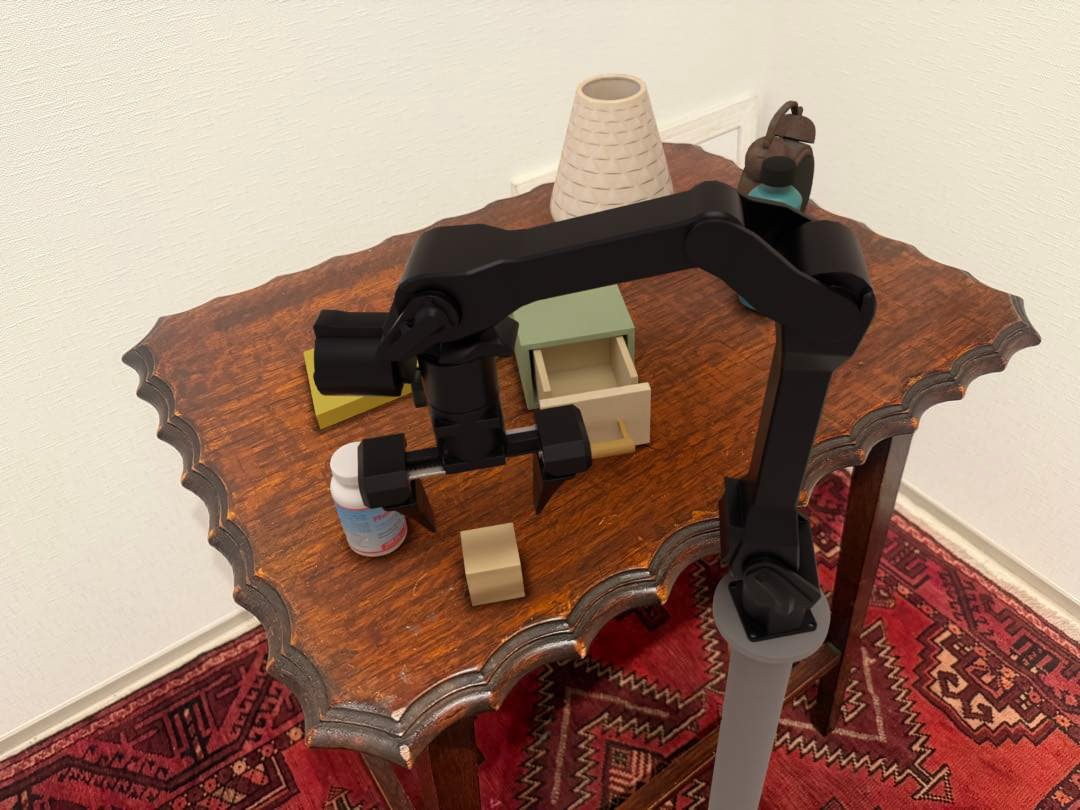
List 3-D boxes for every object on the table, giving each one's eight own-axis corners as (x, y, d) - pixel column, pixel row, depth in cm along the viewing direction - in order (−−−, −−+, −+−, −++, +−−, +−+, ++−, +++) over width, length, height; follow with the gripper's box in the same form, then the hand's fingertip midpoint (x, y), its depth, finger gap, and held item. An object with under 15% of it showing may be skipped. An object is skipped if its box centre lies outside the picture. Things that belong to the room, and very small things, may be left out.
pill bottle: (398, 562, 85) (375, 486, 78) (339, 556, 86) (311, 480, 79) (415, 515, 90) (395, 438, 82) (359, 509, 91) (334, 433, 83)
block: (525, 596, 81) (520, 564, 78) (472, 606, 81) (465, 574, 78) (517, 554, 85) (512, 522, 82) (466, 563, 85) (460, 531, 81)
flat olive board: (462, 306, 116) (289, 372, 108) (460, 293, 114) (284, 359, 107) (504, 354, 108) (320, 429, 100) (502, 341, 106) (315, 415, 99)
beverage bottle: (729, 316, 110) (744, 172, 97) (741, 287, 115) (756, 145, 101) (782, 325, 108) (804, 179, 95) (791, 295, 113) (813, 151, 99)
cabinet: (634, 392, 101) (634, 327, 94) (528, 410, 100) (520, 345, 94) (607, 318, 112) (605, 255, 105) (510, 334, 111) (502, 271, 104)
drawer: (660, 471, 90) (662, 417, 85) (553, 490, 90) (548, 436, 84) (620, 364, 103) (620, 311, 98) (526, 379, 103) (521, 327, 97)
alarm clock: (774, 278, 115) (793, 137, 102) (723, 264, 119) (736, 125, 105) (813, 226, 124) (836, 89, 111) (765, 215, 127) (781, 80, 114)
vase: (662, 286, 116) (668, 122, 100) (538, 273, 120) (524, 113, 105) (684, 218, 128) (691, 62, 112) (570, 208, 132) (562, 57, 117)
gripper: (562, 308, 73) (571, 439, 83) (340, 344, 72) (378, 472, 82) (590, 395, 65) (596, 528, 75) (340, 437, 63) (382, 566, 74)
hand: (485, 519), depth 77 cm, fingers open, 9 cm apart
